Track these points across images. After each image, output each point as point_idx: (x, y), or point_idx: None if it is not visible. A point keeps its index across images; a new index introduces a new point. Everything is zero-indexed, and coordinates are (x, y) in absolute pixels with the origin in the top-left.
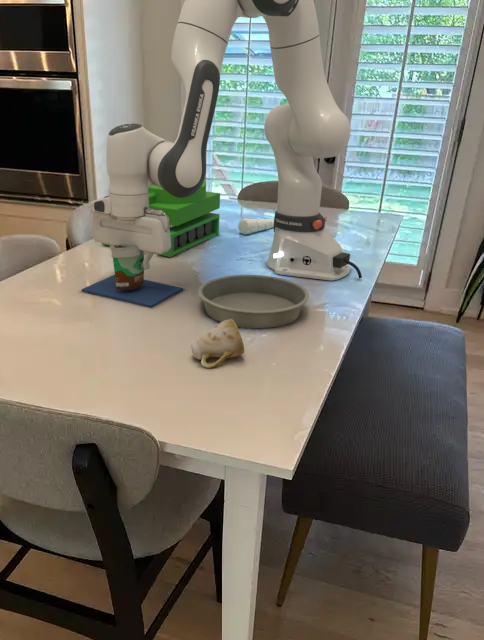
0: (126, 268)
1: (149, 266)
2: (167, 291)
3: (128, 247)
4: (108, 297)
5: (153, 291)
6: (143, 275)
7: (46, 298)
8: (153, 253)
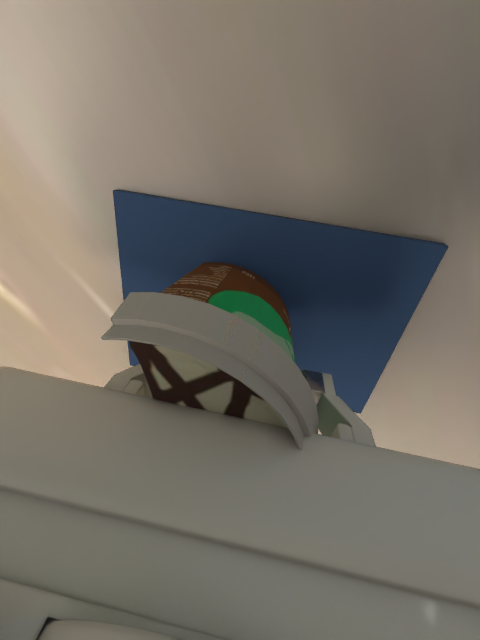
0: None
1: (331, 377)
2: (385, 307)
3: None
4: None
5: (333, 322)
6: (290, 330)
7: None
8: (371, 432)
